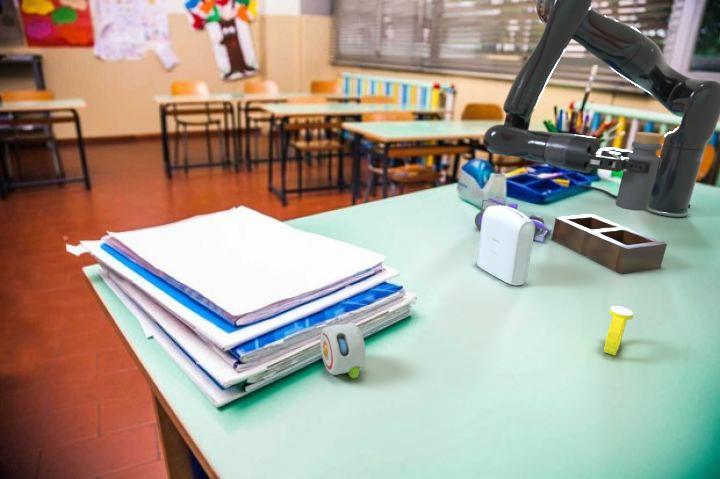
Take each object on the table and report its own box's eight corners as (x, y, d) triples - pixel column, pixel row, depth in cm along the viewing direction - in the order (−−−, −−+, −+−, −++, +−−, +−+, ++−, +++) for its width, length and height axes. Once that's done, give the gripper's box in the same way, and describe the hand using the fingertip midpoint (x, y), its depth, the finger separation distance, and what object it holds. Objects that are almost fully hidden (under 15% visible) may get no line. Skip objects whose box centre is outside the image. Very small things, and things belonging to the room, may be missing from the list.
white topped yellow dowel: (618, 363, 63) (629, 323, 61) (595, 356, 65) (605, 316, 63) (626, 343, 68) (636, 305, 66) (604, 336, 69) (614, 299, 67)
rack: (551, 239, 106) (555, 217, 104) (587, 235, 110) (591, 214, 108) (621, 274, 90) (627, 249, 88) (660, 268, 93) (667, 243, 92)
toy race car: (541, 244, 103) (546, 215, 100) (473, 229, 110) (476, 201, 108) (552, 232, 110) (557, 204, 108) (487, 219, 118) (491, 192, 116)
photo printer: (472, 265, 91) (480, 201, 87) (490, 261, 93) (499, 199, 89) (510, 288, 83) (522, 218, 78) (529, 284, 85) (542, 215, 80)
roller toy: (331, 388, 56) (332, 344, 54) (314, 357, 62) (315, 317, 60) (366, 380, 58) (369, 337, 56) (347, 351, 64) (348, 311, 61)
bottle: (609, 202, 104) (626, 130, 99) (635, 202, 105) (653, 131, 99) (625, 211, 99) (644, 135, 93) (653, 211, 99) (673, 136, 94)
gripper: (560, 137, 102) (649, 151, 91) (587, 132, 111) (670, 143, 100) (553, 173, 104) (639, 190, 93) (580, 164, 114) (661, 179, 103)
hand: (655, 166), depth 97 cm, fingers closed on bottle, 6 cm apart
